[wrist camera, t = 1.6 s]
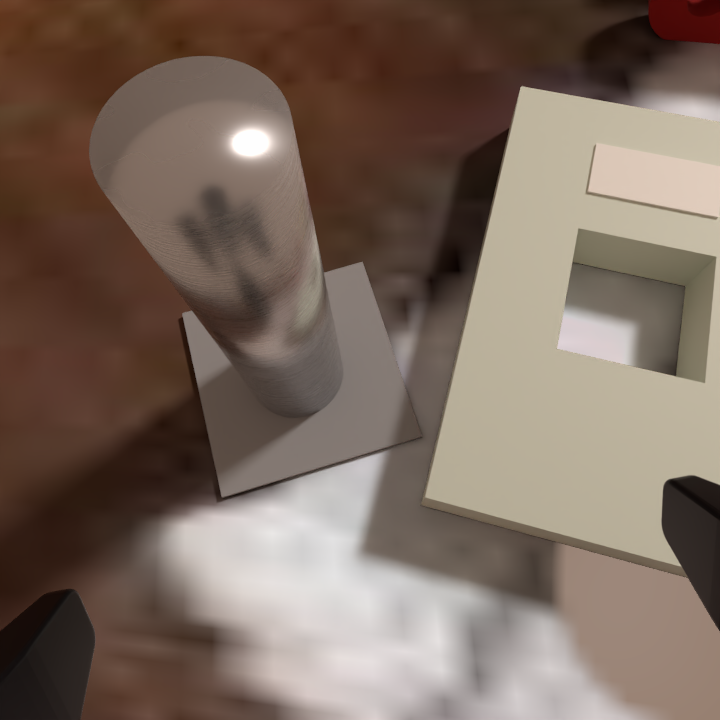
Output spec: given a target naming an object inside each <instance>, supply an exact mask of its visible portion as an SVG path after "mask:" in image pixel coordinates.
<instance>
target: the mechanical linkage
mask: <svg viewBox="0 0 720 720" xmlns="http://www.w3.org/2000/svg"><path fill="white" fill-rule="evenodd" d="M648 5H649V21H650V24H651V27H652V28H653V30H654V31H655V33H656V34H657V35H658V36H659V37H661V38H662V39H664V40H676V41H689V42H701V43H714V44H720V0H648Z"/></svg>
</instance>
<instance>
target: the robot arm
mask: <svg viewBox="0 0 720 720" xmlns="http://www.w3.org/2000/svg"><path fill="white" fill-rule="evenodd" d="M661 525H662V530H663V534H664V536H665V539H666V540H667V542H668V544H669V546H670V547H671V549H672V551H673V553H674V554H675V556H676V558H677V560H678V561H679V563H680V565H681V566H682V568H683V570H684V572H685V573H686V575H687V577H688V579H689V580H690V582H691V584H692V585H693V587H694V589H695V591H696V592H697V594H698V596H699V598H700V599H701V601H702V602H703V604H704V606H705V608H706V610H707V611H708V613H709V615H710V616H711V618H712V620H713V621H714V623H715V625H716V626H717V628H718V629H719V631H720V485H719V484H716V483H714V482H711V481H708V480H706V479H703V478H700V477H698V476H695V475H687V476H682V477H676V478H671V479H668V480H667V481H666V482H665V483H664V485H663V496H662V518H661ZM94 648H95V631H94V628H93V625H92V623H91V620H90V618H89V616H88V614H87V611H86V609H85V607H84V604H83V602H82V600H81V597H80V596H79V594H78V592H77V591H75V590H73V589H66V590H60V591H55V592H50V593H46V594H44V595H43V596H41V597H40V598H39V599H38V600H37V601H36V602H34V603H33V604H32V605H31V606H30V607H28V608H27V609H26V610H25V611H24V612H22V613H21V614H20V615H19V616H18V617H17V618H15V619H14V620H13V621H12V622H11V623H9V624H8V625H7V626H6V627H5V628H4V629H2V630H1V631H0V720H81V715H82V710H83V705H84V700H85V695H86V689H87V684H88V679H89V674H90V669H91V664H92V658H93V653H94Z"/></svg>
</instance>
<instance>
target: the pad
mask: <svg viewBox="0 0 720 720" xmlns="http://www.w3.org/2000/svg"><path fill="white" fill-rule="evenodd" d="M324 276H325V281H326V286H327V290H328V295H329V300H330V305H331V310H332V315H333V319H334V324H335V329H336V334H337V339H338V343H339V348H340V353H341V358H342V363H343V379H342V383H341V386H340V389H339V391H338V393H337V394H336V396H335V397H334V399H333V400H332V401H331V402H330V403H329V404H328V405H327V406H326V407H325V408H323V409H322V410H320V411H318V412H316V413H314V414H312V415H309V416H305V417H298V418H292V417H284V416H281V415H278V414H275V413H273V412H271V411H270V410H268V409H267V408H266V407H264V406H263V405H262V404H261V403H260V402H259V400H258V399H257V398H256V396H255V395H254V394H253V392H252V391H251V390H250V388H249V387H248V385H247V384H246V383H245V381H244V380H243V379H242V377H241V376H240V375H239V373H238V372H237V371H236V369H235V368H234V367H233V365H232V364H231V363H230V361H229V360H228V359H227V357H226V356H225V355H224V353H223V352H222V350H221V349H220V348H219V346H218V345H217V344H216V342H215V341H214V340H213V338H212V337H211V336H210V334H209V333H208V332H207V330H206V329H205V328H204V326H203V325H202V324H201V322H200V321H199V320H198V318H197V317H196V315H195V314H194V313H193V311H189V312H186V313H182V315H183V320H184V325H185V329H186V334H187V338H188V343H189V348H190V352H191V357H192V362H193V366H194V371H195V375H196V380H197V385H198V389H199V394H200V399H201V403H202V408H203V413H204V417H205V422H206V426H207V431H208V436H209V440H210V445H211V450H212V454H213V459H214V464H215V468H216V473H217V477H218V482H219V487H220V491H221V496H222V498H225V497H228V496H231V495H234V494H238V493H241V492H244V491H247V490H251V489H254V488H257V487H261V486H264V485H267V484H270V483H274V482H277V481H280V480H283V479H287V478H290V477H293V476H296V475H300V474H303V473H306V472H310V471H313V470H316V469H319V468H323V467H326V466H329V465H332V464H336V463H339V462H342V461H345V460H349V459H352V458H355V457H358V456H362V455H365V454H368V453H372V452H375V451H378V450H381V449H385V448H388V447H391V446H394V445H398V444H401V443H404V442H407V441H411V440H414V439H417V438H421V437H422V435H421V432H420V429H419V426H418V423H417V420H416V417H415V414H414V411H413V408H412V405H411V403H410V400H409V397H408V394H407V391H406V388H405V385H404V382H403V379H402V376H401V373H400V370H399V367H398V364H397V361H396V359H395V356H394V353H393V350H392V347H391V344H390V341H389V338H388V335H387V332H386V329H385V326H384V323H383V320H382V317H381V315H380V312H379V309H378V306H377V303H376V300H375V297H374V294H373V291H372V288H371V285H370V282H369V279H368V276H367V274H366V271H365V268H364V265H363V262H360V263H357V264H353V265H350V266H346V267H343V268H339V269H336V270H332V271H329V272H325V273H324Z"/></svg>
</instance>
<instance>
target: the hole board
mask: <svg viewBox="0 0 720 720" xmlns="http://www.w3.org/2000/svg"><path fill="white" fill-rule="evenodd" d="M572 262H574V263H579V264H584V265H589V266H593V267H598V268H603V269H607V270H612V271H617V272H621V273H626V274H631V275H635V276H640V277H645V278H649V279H654V280H659V281H663V282H668V283H673V284H677V285H682V286H685V295H684V305H683V314H682V323H681V332H680V342H679V351H678V360H677V369H676V376H672V375H667V374H663V373H659V372H654V371H650V370H646V369H641V368H637V367H633V366H629V365H624V364H620V363H616V362H611V361H607V360H603V359H598V358H594V357H590V356H586V355H581V354H577V353H573V352H568V351H564V350H560V349H557V345H558V340H559V334H560V328H561V323H562V317H563V312H564V306H565V300H566V295H567V289H568V284H569V278H570V272H571V267H572ZM687 475H695V476H698V477H700V478H703V479H706V480H708V481H711V482H714V483H716V484H719V485H720V122H717V121H711V120H706V119H700V118H695V117H689V116H684V115H678V114H672V113H667V112H661V111H656V110H650V109H644V108H639V107H633V106H628V105H622V104H617V103H611V102H605V101H600V100H594V99H589V98H583V97H578V96H572V95H566V94H561V93H555V92H550V91H544V90H538V89H533V88H527V87H522V86H521V88H520V92H519V96H518V99H517V103H516V106H515V110H514V114H513V117H512V121H511V124H510V128H509V132H508V137H507V141H506V145H505V149H504V154H503V158H502V162H501V166H500V171H499V175H498V179H497V183H496V188H495V192H494V196H493V200H492V205H491V209H490V213H489V217H488V222H487V226H486V230H485V234H484V239H483V243H482V247H481V251H480V256H479V260H478V264H477V268H476V273H475V277H474V281H473V286H472V290H471V294H470V298H469V303H468V307H467V311H466V315H465V320H464V324H463V328H462V332H461V337H460V341H459V345H458V349H457V354H456V358H455V362H454V366H453V371H452V375H451V379H450V383H449V388H448V392H447V396H446V400H445V405H444V409H443V413H442V417H441V422H440V426H439V430H438V434H437V439H436V443H435V447H434V451H433V456H432V460H431V464H430V469H429V473H428V477H427V481H426V486H425V490H424V494H423V498H422V503H421V505H422V506H426V507H430V508H433V509H437V510H441V511H444V512H448V513H452V514H455V515H459V516H463V517H466V518H470V519H474V520H477V521H481V522H485V523H488V524H492V525H496V526H499V527H503V528H507V529H510V530H514V531H518V532H521V533H525V534H529V535H532V536H536V537H540V538H543V539H547V540H551V541H554V542H558V543H562V544H565V545H569V546H573V547H576V548H580V549H584V550H588V551H591V552H595V553H599V554H602V555H606V556H609V557H613V558H617V559H620V560H624V561H628V562H632V563H635V564H639V565H642V566H646V567H650V568H653V569H657V570H661V571H664V572H668V573H672V574H676V575H679V576H683V577H687V575H686V573H685V572H684V570H683V568H682V566H681V565H680V563H679V561H678V560H677V558H676V556H675V554H674V553H673V551H672V549H671V547H670V546H669V544H668V542H667V540H666V539H665V536H664V534H663V530H662V525H661V518H662V496H663V485H664V483H665V482H666V481H667V480H668V479H671V478H676V477H682V476H687ZM687 578H688V577H687Z"/></svg>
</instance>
